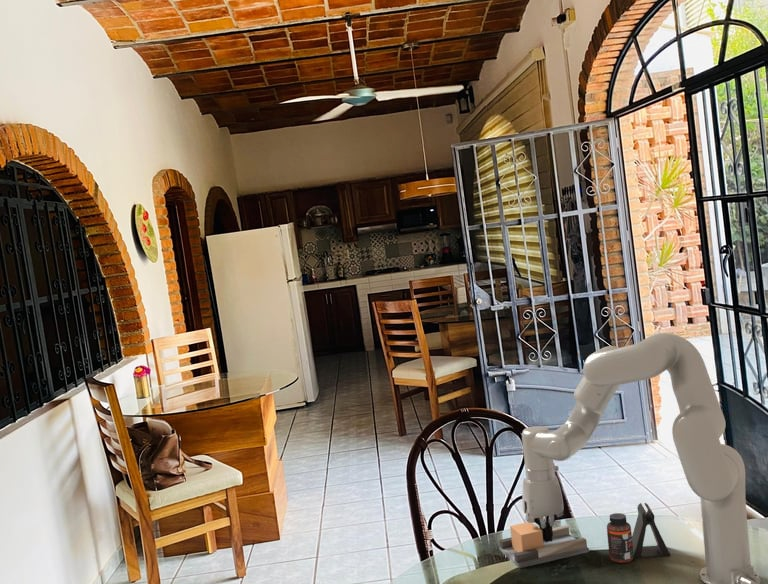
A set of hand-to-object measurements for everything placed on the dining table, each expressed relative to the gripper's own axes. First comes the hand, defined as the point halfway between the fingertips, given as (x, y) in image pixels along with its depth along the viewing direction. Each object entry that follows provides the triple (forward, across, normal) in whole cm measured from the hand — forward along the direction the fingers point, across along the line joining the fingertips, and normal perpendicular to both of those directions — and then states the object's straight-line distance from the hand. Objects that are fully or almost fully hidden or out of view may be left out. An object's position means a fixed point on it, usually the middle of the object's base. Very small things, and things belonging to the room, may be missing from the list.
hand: (547, 539), depth 198 cm
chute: (+3, +1, 0) cm, 3 cm away
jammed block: (+2, +6, 0) cm, 6 cm away
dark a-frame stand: (+3, -22, +14) cm, 26 cm away
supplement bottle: (+3, -14, +14) cm, 20 cm away
